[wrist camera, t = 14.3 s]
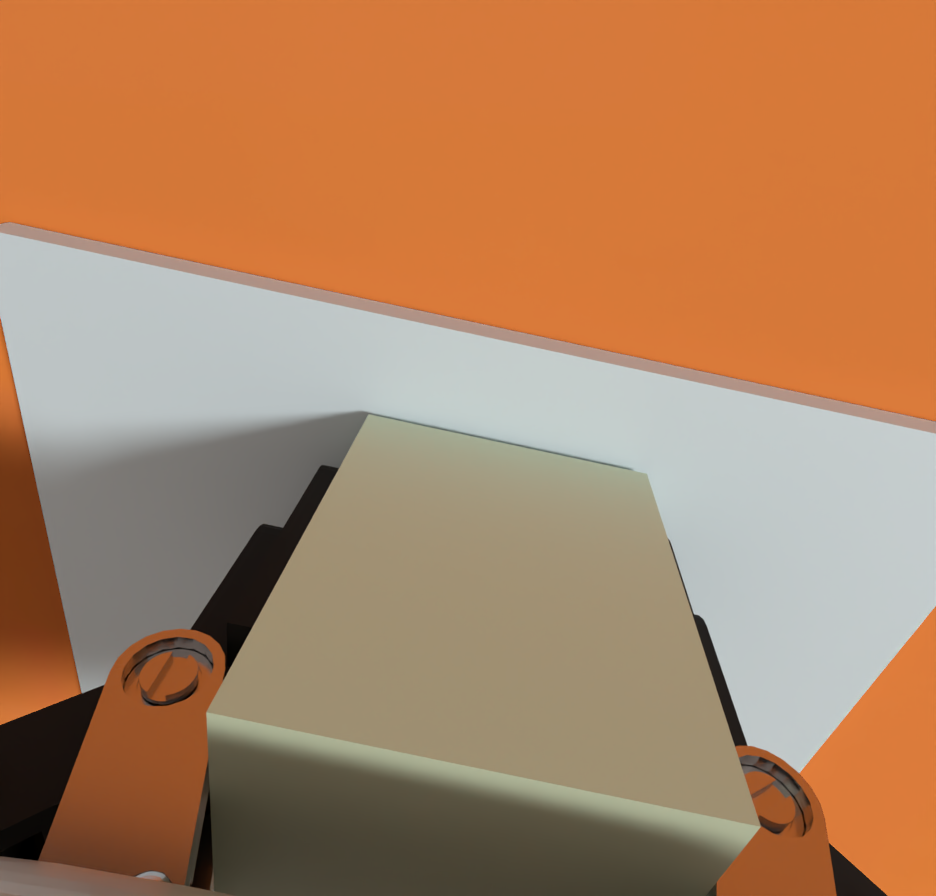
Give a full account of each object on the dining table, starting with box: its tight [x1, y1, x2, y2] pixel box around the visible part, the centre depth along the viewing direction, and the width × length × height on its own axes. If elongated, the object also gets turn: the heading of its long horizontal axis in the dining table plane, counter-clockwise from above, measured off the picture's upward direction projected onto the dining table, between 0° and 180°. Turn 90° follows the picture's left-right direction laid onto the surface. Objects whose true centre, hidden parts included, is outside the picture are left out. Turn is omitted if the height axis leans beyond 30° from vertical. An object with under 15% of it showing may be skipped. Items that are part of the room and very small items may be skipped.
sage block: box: [206, 414, 761, 896], centre depth 9 cm, size 5×5×6 cm
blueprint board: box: [0, 222, 936, 773], centre depth 17 cm, size 28×18×1 cm, turn 169°
